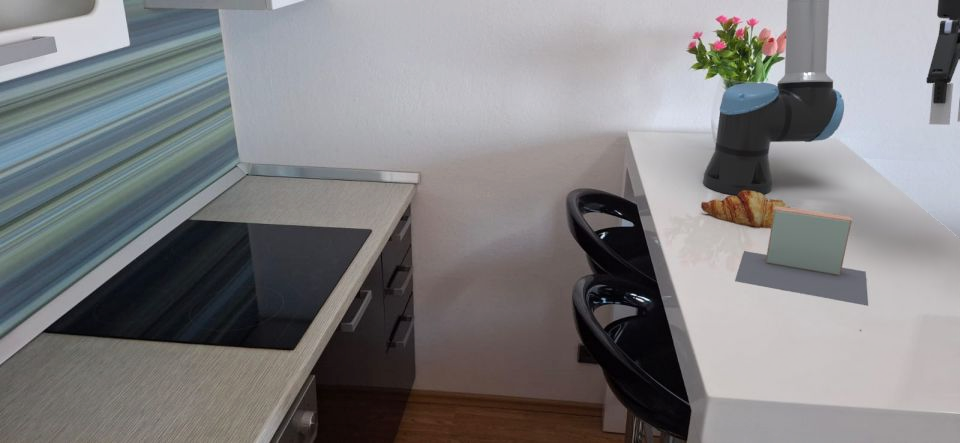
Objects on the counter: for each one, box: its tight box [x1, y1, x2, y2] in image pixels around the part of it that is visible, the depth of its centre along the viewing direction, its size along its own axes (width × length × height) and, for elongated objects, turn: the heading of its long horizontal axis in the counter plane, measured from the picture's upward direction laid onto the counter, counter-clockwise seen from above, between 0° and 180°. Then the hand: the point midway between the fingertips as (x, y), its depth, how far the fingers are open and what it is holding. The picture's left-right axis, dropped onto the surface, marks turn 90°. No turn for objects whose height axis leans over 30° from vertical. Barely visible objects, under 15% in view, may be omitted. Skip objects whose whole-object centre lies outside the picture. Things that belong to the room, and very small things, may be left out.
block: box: [766, 206, 853, 275], centre depth 128 cm, size 2×12×10 cm, turn 66°
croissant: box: [700, 190, 791, 229], centre depth 151 cm, size 21×10×8 cm, turn 71°
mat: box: [734, 250, 869, 307], centre depth 126 cm, size 14×20×1 cm
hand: (953, 123), depth 125 cm, fingers open, 13 cm apart
